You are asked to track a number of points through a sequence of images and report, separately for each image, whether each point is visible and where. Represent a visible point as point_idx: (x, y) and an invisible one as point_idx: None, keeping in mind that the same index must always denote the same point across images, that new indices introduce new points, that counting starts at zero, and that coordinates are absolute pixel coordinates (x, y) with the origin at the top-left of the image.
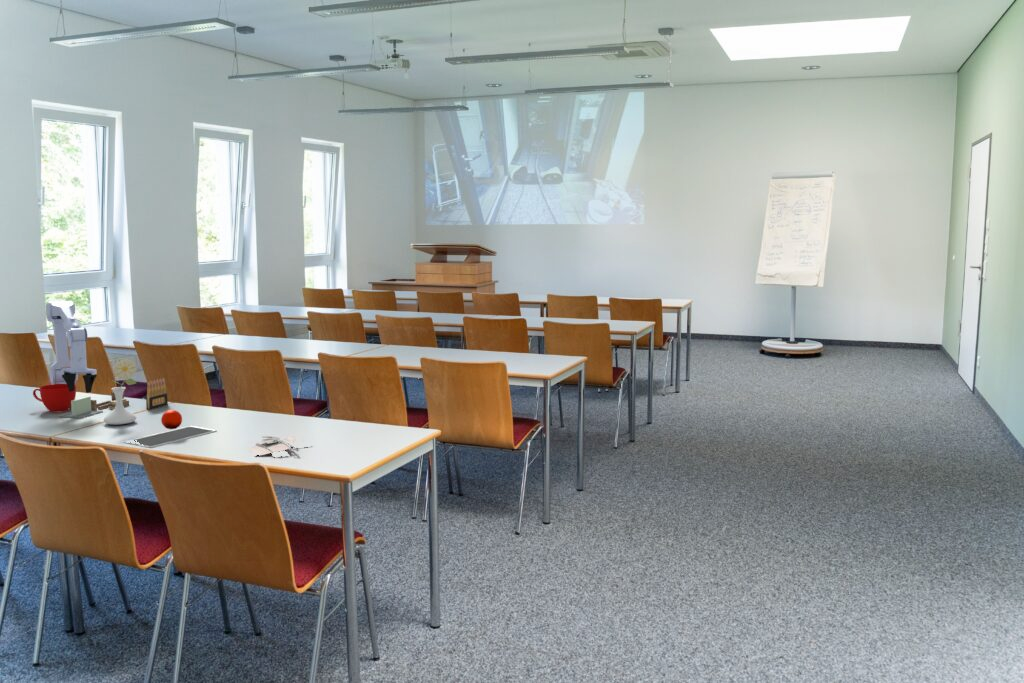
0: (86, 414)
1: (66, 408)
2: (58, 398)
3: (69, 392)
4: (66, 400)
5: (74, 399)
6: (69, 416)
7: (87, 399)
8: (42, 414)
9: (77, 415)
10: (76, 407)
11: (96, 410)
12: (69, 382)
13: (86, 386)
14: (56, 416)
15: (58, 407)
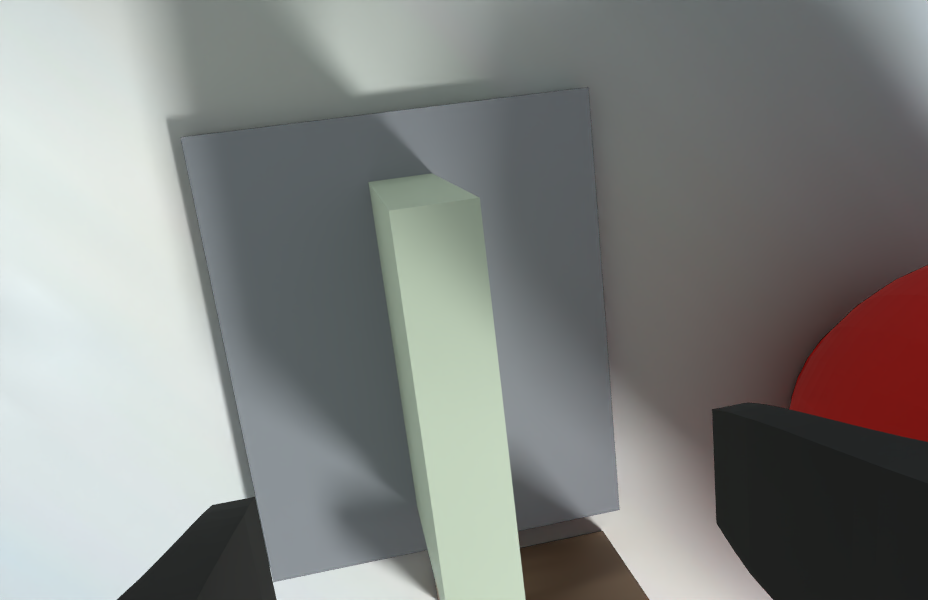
0: (282, 312)
1: None
2: (924, 330)
3: None
4: None
5: None
6: (414, 109)
7: (435, 549)
8: (920, 137)
9: (352, 206)
10: (384, 234)
11: (438, 596)
12: (899, 518)
13: (158, 582)
14: (656, 106)
15: (846, 317)
